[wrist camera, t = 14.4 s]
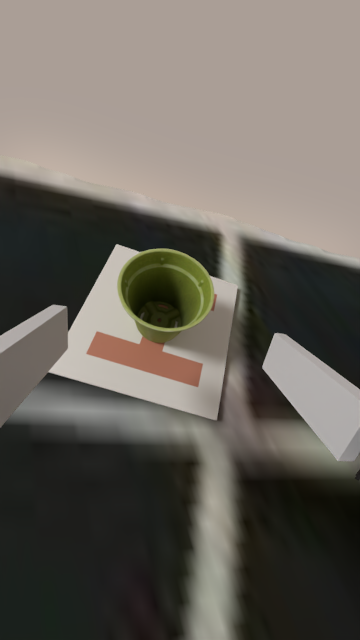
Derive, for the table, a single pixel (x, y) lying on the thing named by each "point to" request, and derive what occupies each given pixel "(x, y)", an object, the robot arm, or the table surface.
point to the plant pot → (165, 292)
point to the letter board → (149, 348)
